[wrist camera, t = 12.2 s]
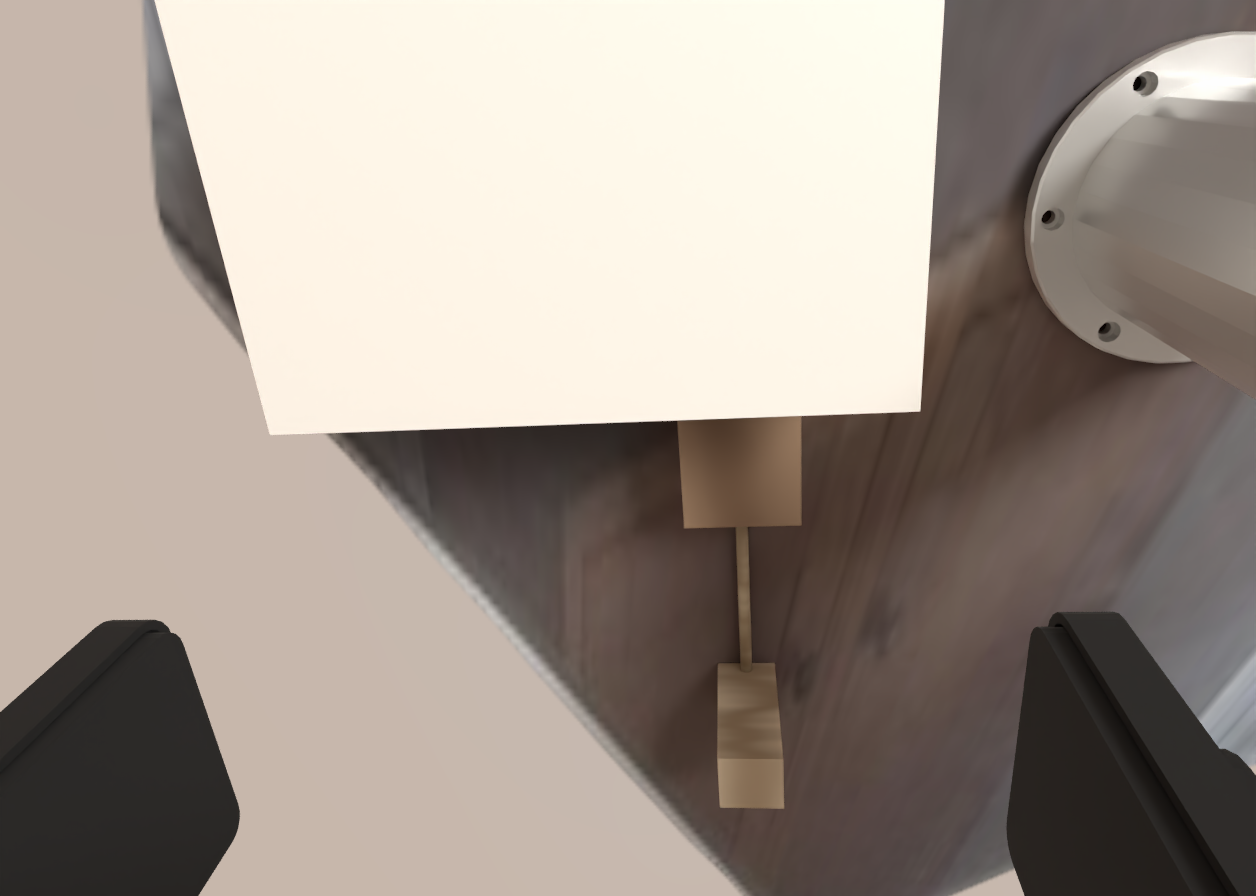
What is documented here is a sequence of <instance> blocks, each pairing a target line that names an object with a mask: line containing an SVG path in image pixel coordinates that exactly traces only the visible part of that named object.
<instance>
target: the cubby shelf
mask: <svg viewBox="0 0 1256 896" xmlns="http://www.w3.org/2000/svg"><path fill="white" fill-rule="evenodd" d="M944 1H945V0H155V4H156V7H157V11H158V15H159V19H160V22H161V26H162V30H163V34H164V38H165V41H166V45H167V49H168V53H169V56H170V60H171V64H172V68H173V72H174V75H175V79H176V83H177V87H178V90H179V94H180V98H181V102H182V106H183V109H184V113H185V117H186V121H187V124H188V128H189V132H190V136H191V140H192V143H193V147H194V151H195V155H196V158H197V162H198V166H199V170H200V174H201V177H202V181H203V185H204V189H205V192H206V196H207V200H208V204H209V208H210V211H211V215H212V219H213V223H214V226H215V230H216V234H217V238H218V242H219V245H220V249H221V253H222V257H223V260H224V264H225V268H226V272H227V276H228V279H229V283H230V287H231V291H232V294H233V298H234V302H235V306H236V310H237V313H238V317H239V321H240V325H241V328H242V332H243V336H244V340H245V344H246V347H247V351H248V355H249V359H250V362H251V366H252V370H253V374H254V377H255V381H256V385H257V389H258V392H259V396H260V400H261V404H262V408H263V411H264V415H265V419H266V423H267V426H268V430H269V434H270V435H291V434H320V433H347V432H374V431H402V430H429V429H456V428H484V427H511V426H539V425H566V424H593V423H621V422H648V421H675V420H703V419H730V418H757V417H785V416H812V415H839V414H867V413H894V412H920V408H921V391H922V374H923V357H924V340H925V323H926V306H927V289H928V273H929V256H930V239H931V222H932V205H933V188H934V171H935V154H936V137H937V120H938V103H939V86H940V69H941V52H942V35H943V18H944Z"/></svg>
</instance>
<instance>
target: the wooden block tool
mask: <svg viewBox="0 0 1256 896" xmlns="http://www.w3.org/2000/svg"><path fill="white" fill-rule="evenodd" d="M677 424H678V439H679V455H680V471H681V487H682V503H683V519H684V528H717V527H736V553H737V581H738V608H739V636H740V663H718V730H717V762H718V781H719V800H720V808H776V809H784V771H783V750H782V739H781V728H780V716H779V705H778V694H777V683H776V672H775V663H752V646H751V613H750V579H749V546H748V527H760V526H801V416H785V417H757V418H730V419H703V420H677Z"/></svg>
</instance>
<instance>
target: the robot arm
mask: <svg viewBox="0 0 1256 896" xmlns="http://www.w3.org/2000/svg"><path fill="white" fill-rule="evenodd" d="M1138 76H1139V77H1140V79H1141V82H1142V83H1141V86H1140V87H1139V88H1138V89H1137V90H1135V91H1134V90H1133V83H1134V81H1135V78H1136V77H1138ZM1048 210H1050V211H1051V218H1050V219H1049V220H1048V221H1047V222H1042V220H1041V219H1042V216H1043V214H1044V213H1045V212H1046V211H1048ZM1024 233H1025V254H1026V257H1027V261H1028V265H1029V269H1030V273H1031V276H1032V280H1033V282H1034V284H1035V286H1036V288H1037V290H1038V292H1039V294H1040V295H1041V297H1042V299H1043V301H1044V303H1045V304H1046V306H1047V307H1048V308H1049V309H1050V310H1051V311H1052V313H1053V314H1054V315H1055V316H1056V317H1057V318H1058V320H1059V321H1060V322H1061V323H1062V324H1063V325H1065V326H1066V327H1067V328H1068V329H1070V330H1071V331H1072V332H1073V333H1075V334H1076V335H1077V336H1078V337H1080V338H1081V339H1083V340H1084V341H1086V342H1088V343H1089V344H1091V345H1092V346H1094V347H1096V348H1098V349H1100V350H1102V351H1104V352H1107V353H1110V354H1113V355H1116V356H1119V357H1122V358H1125V359H1128V360H1135V361H1143V362H1150V363H1181V362H1191V361H1194V362H1196V363H1197V364H1199V365H1201V366H1202V367H1204V368H1206V369H1207V370H1209V371H1210V372H1212V373H1214V374H1215V375H1217V376H1218V377H1220V378H1222V379H1223V380H1225V381H1226V382H1228V383H1230V384H1231V385H1233V386H1234V387H1236V388H1238V389H1239V390H1241V391H1242V392H1244V393H1246V394H1247V395H1249V396H1251V397H1252V398H1254V399H1255V400H1256V32H1224V33H1214V34H1205V35H1200V36H1197V37H1193V38H1189V39H1186V40H1182V41H1178V42H1175V43H1171V44H1168V45H1166V46H1163V47H1161V48H1159V49H1157V50H1155V51H1153V52H1151V53H1148V54H1146V55H1144V56H1142V57H1140V58H1138V59H1136V60H1134V61H1132V62H1131V63H1129V64H1128V65H1126V66H1125V67H1124V68H1122V69H1121V70H1119V71H1118V72H1116V73H1115V74H1113V75H1112V76H1110V77H1109V78H1107V79H1106V80H1104V81H1103V82H1102V83H1101V84H1100V85H1099V86H1098V87H1097V88H1096V89H1095V90H1094V91H1093V92H1092V93H1090V94H1089V95H1088V96H1087V97H1086V98H1085V99H1084V100H1083V101H1082V102H1081V103H1080V104H1079V105H1078V106H1077V107H1076V108H1075V109H1074V111H1073V112H1072V113H1071V115H1070V116H1069V117H1068V118H1067V120H1066V121H1065V122H1064V124H1063V125H1062V126H1061V127H1060V129H1059V130H1058V131H1057V133H1056V134H1055V136H1054V137H1053V139H1052V141H1051V143H1050V145H1049V147H1048V148H1047V150H1046V152H1045V154H1044V156H1043V158H1042V159H1041V161H1040V163H1039V166H1038V168H1037V171H1036V174H1035V177H1034V180H1033V183H1032V186H1031V189H1030V192H1029V195H1028V202H1027V208H1026V215H1025V222H1024ZM1104 323H1106V328H1105V329H1104V330H1103V331H1099V329H1100V327H1101V326H1102V325H1103V324H1104ZM1098 331H1099V332H1098ZM239 817H240V811H239V806H238V802H237V799H236V796H235V794H234V791H233V788H232V785H231V782H230V779H229V776H228V773H227V770H226V767H225V764H224V761H223V759H222V756H221V753H220V750H219V747H218V744H217V741H216V738H215V736H214V732H213V729H212V727H211V724H210V721H209V718H208V715H207V712H206V709H205V706H204V703H203V700H202V698H201V695H200V692H199V689H198V686H197V683H196V680H195V677H194V674H193V671H192V668H191V666H190V663H189V660H188V657H187V654H186V651H185V648H184V645H183V643H182V641H181V639H180V638H179V637H178V636H177V635H176V634H174V633H171V632H170V630H169V628H168V627H167V626H166V625H165V624H164V623H162V622H161V621H157V620H112V621H106V622H103V623H102V624H100V625H99V626H97V627H96V628H94V629H93V630H92V631H91V632H90V633H89V634H88V635H87V636H85V638H83V639H82V640H81V641H80V642H79V643H78V644H77V645H75V646H74V647H73V648H72V649H71V650H70V651H69V652H67V653H66V654H65V655H64V656H63V657H62V658H61V659H60V660H59V661H57V662H56V663H55V664H54V665H53V666H52V667H51V668H49V669H48V670H47V671H46V672H45V673H44V674H43V675H42V676H40V677H39V678H38V679H37V680H36V681H35V682H34V683H33V684H32V685H30V686H29V687H28V688H27V689H26V690H25V691H24V692H23V693H22V694H20V695H19V696H18V697H17V698H16V699H15V700H14V701H12V702H11V703H10V704H9V705H8V706H7V707H6V708H5V709H4V710H2V711H1V712H0V896H198V895H199V894H200V892H201V891H202V889H203V887H204V886H205V884H206V882H207V881H208V879H209V878H210V876H211V875H212V873H213V872H214V870H215V868H216V867H217V865H218V864H219V862H220V861H221V859H222V857H223V856H224V854H225V853H226V851H227V850H228V848H229V846H230V845H231V843H232V841H233V840H234V837H235V835H236V833H237V829H238V825H239V819H240V818H239ZM1007 839H1008V846H1009V851H1010V856H1011V859H1012V862H1013V865H1014V868H1015V871H1016V873H1017V876H1018V879H1019V881H1020V884H1021V887H1022V890H1023V892H1024V895H1025V896H1256V775H1255V774H1254V773H1253V772H1252V770H1251V769H1250V768H1249V767H1248V766H1247V764H1246V763H1245V762H1244V761H1243V760H1242V759H1241V758H1240V757H1239V756H1238V755H1236V754H1234V753H1232V752H1230V751H1228V750H1226V749H1219V748H1218V746H1217V745H1216V744H1215V742H1214V741H1213V740H1212V738H1211V737H1210V735H1209V734H1208V733H1207V731H1206V730H1205V729H1204V727H1203V726H1202V724H1201V723H1200V722H1199V720H1198V719H1197V718H1196V716H1195V715H1194V714H1193V712H1192V711H1191V709H1190V708H1189V707H1188V705H1187V704H1186V703H1185V701H1184V700H1183V698H1182V697H1181V696H1180V694H1179V693H1178V692H1177V690H1176V689H1175V688H1174V686H1173V685H1172V683H1171V682H1170V681H1169V679H1168V678H1167V677H1166V675H1165V674H1164V672H1163V671H1162V670H1161V668H1160V667H1159V666H1158V664H1157V663H1156V662H1155V660H1154V659H1153V657H1152V656H1151V655H1150V653H1149V652H1148V651H1147V649H1146V648H1145V647H1144V645H1143V644H1142V642H1141V641H1140V640H1139V638H1138V637H1137V636H1136V634H1135V633H1134V631H1133V630H1132V629H1131V627H1130V626H1129V625H1128V623H1127V622H1126V621H1125V619H1124V618H1123V617H1122V616H1121V615H1120V614H1118V613H1115V612H1057V613H1055V614H1053V615H1052V617H1051V619H1050V621H1049V625H1048V627H1036V628H1034V629H1033V631H1032V633H1031V637H1030V643H1029V651H1028V659H1027V667H1026V675H1025V682H1024V690H1023V698H1022V706H1021V714H1020V722H1019V730H1018V737H1017V745H1016V753H1015V761H1014V769H1013V777H1012V785H1011V792H1010V800H1009V808H1008V816H1007Z"/></svg>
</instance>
